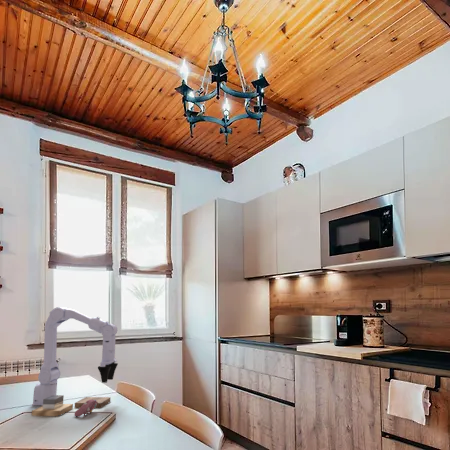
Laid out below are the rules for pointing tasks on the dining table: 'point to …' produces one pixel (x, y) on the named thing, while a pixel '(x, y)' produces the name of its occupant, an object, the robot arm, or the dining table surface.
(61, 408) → the oak stand
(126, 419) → the dining table surface
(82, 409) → the video game controller
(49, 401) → the grey rectangular block
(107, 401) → the walnut stand
